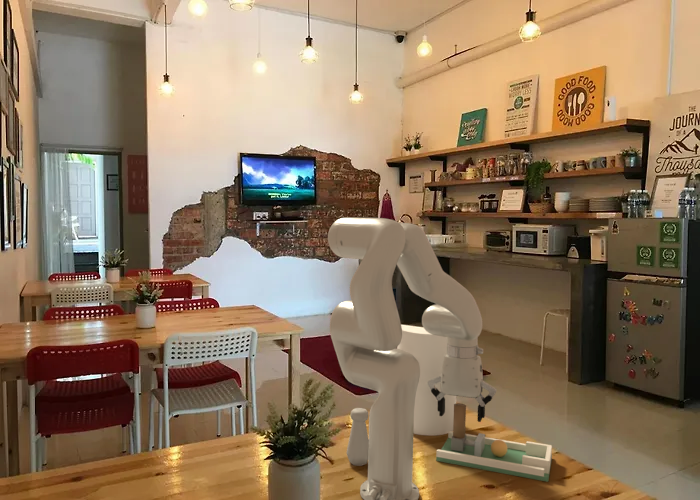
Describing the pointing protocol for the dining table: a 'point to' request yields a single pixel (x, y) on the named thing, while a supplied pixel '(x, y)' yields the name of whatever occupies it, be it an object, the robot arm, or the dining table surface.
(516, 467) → the pitch
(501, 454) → the ball
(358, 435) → the salt shaker
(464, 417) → the striker
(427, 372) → the cylinder
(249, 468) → the dining table surface
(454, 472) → the dining table surface
